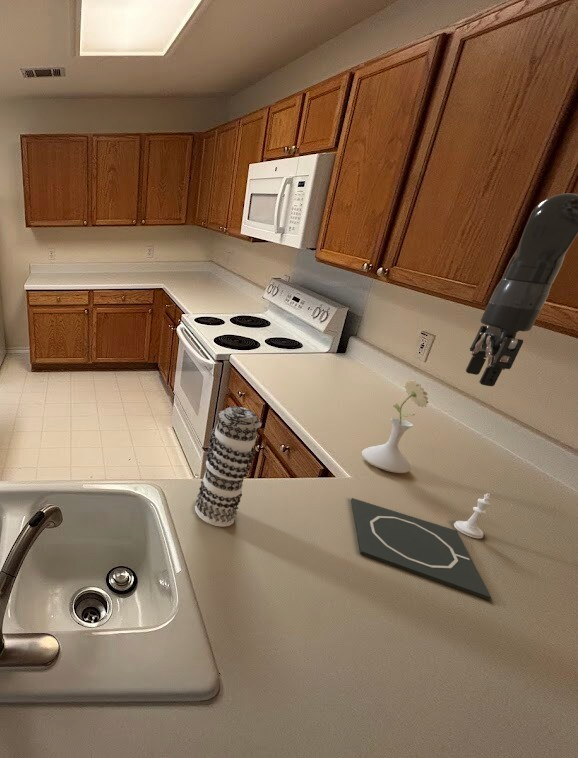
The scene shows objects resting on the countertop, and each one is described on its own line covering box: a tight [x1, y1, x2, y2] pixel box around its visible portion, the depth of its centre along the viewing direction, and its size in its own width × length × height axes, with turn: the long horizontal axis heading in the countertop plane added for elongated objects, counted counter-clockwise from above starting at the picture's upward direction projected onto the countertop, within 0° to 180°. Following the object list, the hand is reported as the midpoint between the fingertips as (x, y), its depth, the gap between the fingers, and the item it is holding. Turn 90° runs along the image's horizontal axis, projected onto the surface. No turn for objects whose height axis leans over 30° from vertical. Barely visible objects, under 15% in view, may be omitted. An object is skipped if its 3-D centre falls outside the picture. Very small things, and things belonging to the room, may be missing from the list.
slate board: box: [350, 497, 492, 601], centre depth 86 cm, size 20×20×1 cm
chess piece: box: [453, 493, 491, 539], centre depth 90 cm, size 5×5×10 cm
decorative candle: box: [194, 406, 263, 528], centre depth 86 cm, size 9×9×25 cm
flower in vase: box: [361, 379, 429, 474], centre depth 112 cm, size 13×11×25 cm
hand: (478, 379), depth 88 cm, fingers open, 8 cm apart
